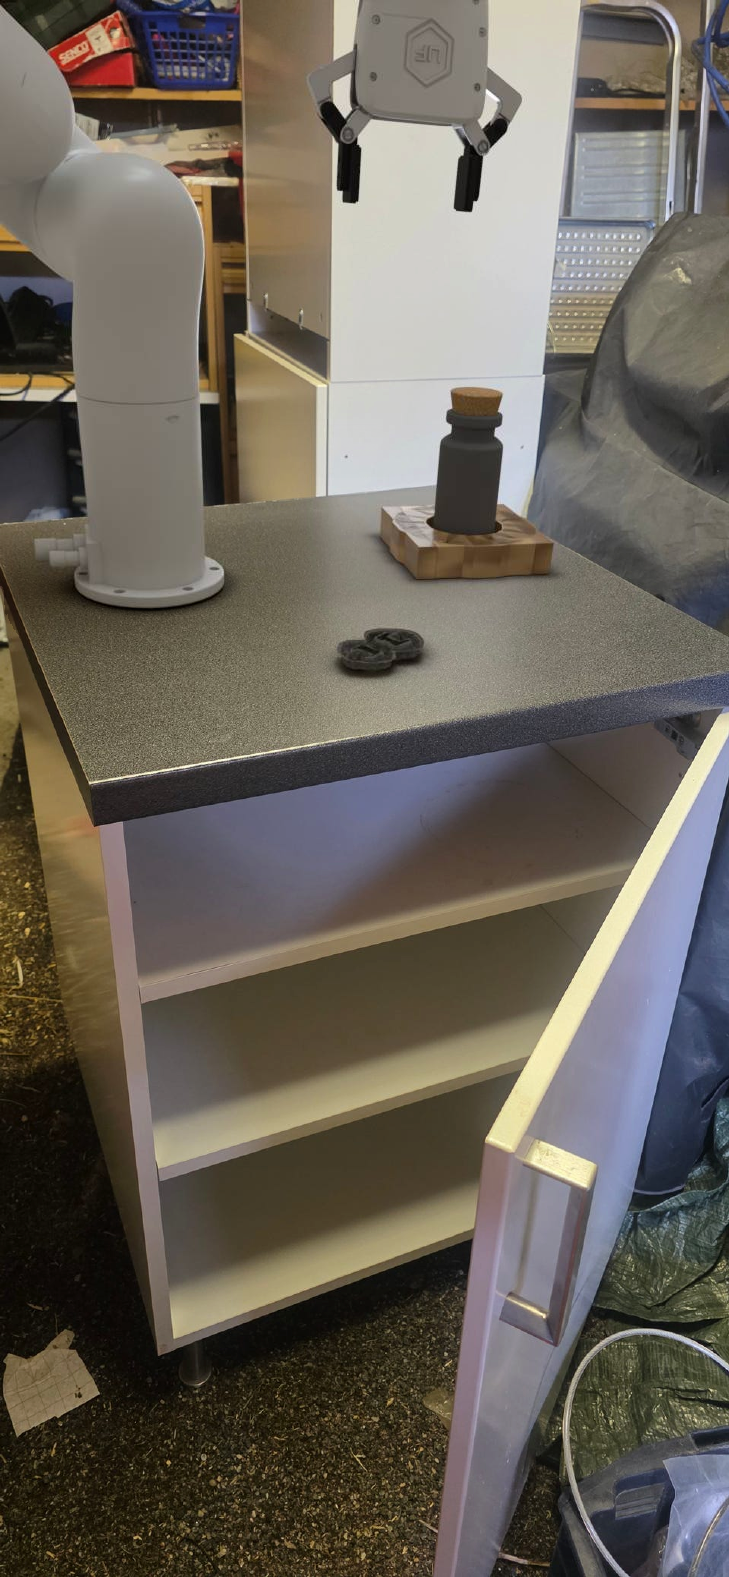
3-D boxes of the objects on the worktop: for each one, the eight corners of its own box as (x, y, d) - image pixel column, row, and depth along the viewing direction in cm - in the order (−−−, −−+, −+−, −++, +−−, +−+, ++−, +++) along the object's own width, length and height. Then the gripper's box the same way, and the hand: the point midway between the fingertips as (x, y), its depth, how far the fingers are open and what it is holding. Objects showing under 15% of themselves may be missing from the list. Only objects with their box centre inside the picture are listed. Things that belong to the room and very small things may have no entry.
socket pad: (413, 581, 92) (416, 548, 91) (375, 535, 104) (377, 505, 102) (554, 575, 96) (559, 543, 94) (502, 531, 107) (505, 502, 105)
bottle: (503, 559, 99) (522, 395, 91) (453, 567, 96) (468, 399, 88) (468, 542, 103) (484, 384, 95) (419, 549, 100) (431, 387, 93)
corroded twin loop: (319, 662, 76) (320, 649, 75) (387, 633, 81) (387, 620, 80) (372, 682, 73) (373, 668, 72) (438, 651, 78) (439, 638, 78)
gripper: (322, -85, 71) (312, 200, 79) (555, -52, 75) (521, 216, 83) (303, -63, 77) (295, 199, 86) (519, -34, 81) (491, 213, 90)
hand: (407, 207), depth 84 cm, fingers open, 9 cm apart
